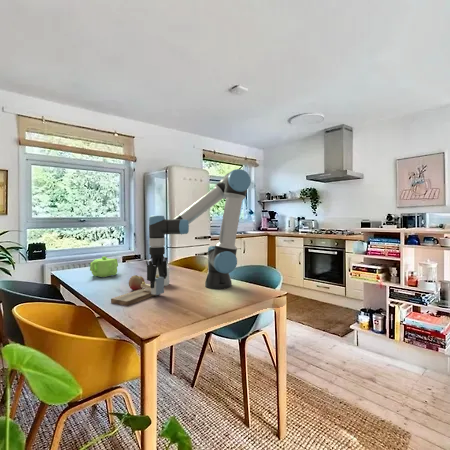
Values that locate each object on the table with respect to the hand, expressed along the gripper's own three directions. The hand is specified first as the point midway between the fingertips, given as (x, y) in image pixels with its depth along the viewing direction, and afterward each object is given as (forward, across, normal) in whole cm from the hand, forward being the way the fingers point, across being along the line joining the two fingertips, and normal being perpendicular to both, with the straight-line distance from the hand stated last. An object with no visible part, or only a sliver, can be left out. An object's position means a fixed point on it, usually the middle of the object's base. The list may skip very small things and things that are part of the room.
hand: (157, 292), depth 146 cm
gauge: (0, 0, -4) cm, 4 cm away
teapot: (+2, -23, -63) cm, 67 cm away
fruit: (+2, -5, -18) cm, 19 cm away
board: (+2, +7, -7) cm, 10 cm away
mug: (+2, -19, -14) cm, 24 cm away
